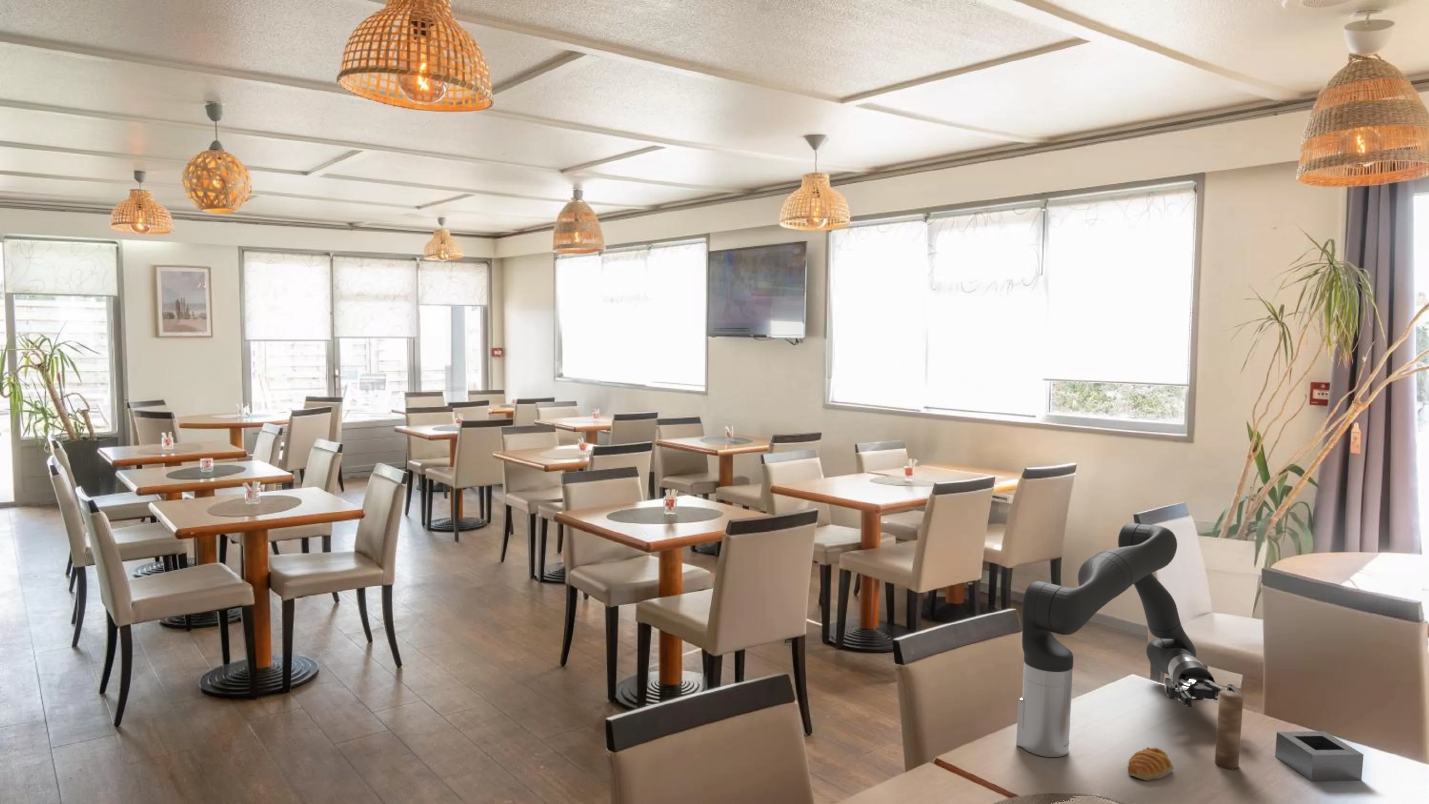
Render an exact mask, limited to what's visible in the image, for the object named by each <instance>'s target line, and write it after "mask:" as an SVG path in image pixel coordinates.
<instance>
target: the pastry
mask: <svg viewBox="0 0 1429 804" xmlns="http://www.w3.org/2000/svg"><path fill="white" fill-rule="evenodd" d="M1173 770H1174V765H1173V764H1172V761H1171V759H1170V758H1169V755H1168V753H1166V752H1165V751H1164V750H1162V749H1160V748H1158V747H1148V746H1147V747H1146V748H1143V749H1142V750H1139V751H1136V752H1135V753H1134V754H1133V755H1132V756H1131V757H1130V759H1129V761H1128V766H1127V772H1128V773H1127V774H1128V775H1129V776H1130V777H1132V776H1133V777H1135V778H1137V779H1139V780H1144V781H1147V782H1148V781H1152V780H1160V779H1162V778H1164V777H1166V776H1168V775H1170V773H1171V772H1172V771H1173Z"/></svg>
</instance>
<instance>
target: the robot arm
mask: <svg viewBox="0 0 1429 804" xmlns="http://www.w3.org/2000/svg"><path fill="white" fill-rule="evenodd" d="M1117 539H1118V540H1117V546H1118V547H1114V548H1110V549H1109V548H1108V549H1104V550H1102V551H1099V552H1098V553H1096V554H1094V555H1093V556H1091V557H1090V558H1088V559H1087V560H1086V561H1085V560H1084V562H1083V563H1082V564H1081V566H1080V568H1079V570H1078V574H1077V581H1078V586H1077V587H1067V586H1063V585H1059V584H1054V583H1050V582H1045V581H1041V580H1040V581H1039V580H1036V581H1033V582H1031V583H1030V584H1029V585H1028V587H1026V589H1025V592H1024V594H1023V598H1022V603H1021V604H1022V605H1021V626H1022V627H1021V631H1022V632H1021V635H1022V636H1021V646H1022V652H1023V671H1022V696H1021V697H1020V698H1019V699H1018V701H1017V703H1018V704H1017V705H1018V707H1017V719H1016V720H1017V723H1016V724H1017V725H1016V741H1015V742H1016V744H1015V745H1016V746H1018V747H1019V748H1020V747H1021V748H1022V749H1023V750H1025V751H1027V752H1029V753H1031V754H1033V755H1036V756H1040V757H1047V758H1059V757H1063V756H1066V755H1067V754H1068V753H1069V746H1070V731H1071V729H1070V728H1071V711H1072V695H1073V694H1072V691H1073V674H1074V673H1073V672H1074V654H1073V652H1072V651H1071V650H1070V649H1069V647H1067V646H1066V645H1064V644H1062V642H1060V641H1059V640H1058V639H1057V638H1056V636H1055V635H1053V634H1054V633H1055V634H1056V635H1063V636H1069V635H1074V634H1075V633H1076V632H1078V631H1079V630H1080V629H1082V628H1083V627H1084V626H1085V625H1086V624H1087V623H1088V622H1089V621H1090V620H1091V618H1092V617H1093V616H1094V615H1095V614H1096V613H1097V612H1099V611H1100V610H1101V609H1102V608H1103V607H1105V606H1106V605H1107V604H1108V603H1109V602H1111V601H1113V600H1114V599H1115V598H1117V597H1118V596H1120V595H1121V594H1123V593H1124V592H1125V591H1127V590H1129V588H1130V587H1131V586H1133V585H1134V588H1135V590H1136V592H1137V593H1138V596H1139V598H1140V601H1141V605H1142V607H1143V611H1144V614H1145V615H1144V616H1145V618H1146V622H1147V626H1148V630H1149V632H1150V633H1151V634H1152V636H1153V637H1156V639H1153V640H1151V641H1149V643H1147V645H1146V649H1145V652H1146V656H1147V659H1148V661H1149V662H1150V664H1151V665H1152V666H1153V667H1154V669H1156V670H1157V671H1159V672H1162V673H1164V674H1166V675H1169V677H1170V678H1169V677H1165V678H1164V685H1163V690H1164V692H1165V695H1166V696H1167V698H1168V699H1170V700H1175V698H1176V699H1177V700H1178V701H1179V702H1180V703H1181V704H1183V705H1185V706H1186V707H1187V708H1192V706H1193V705H1192V704H1193V701H1204V700H1205V701H1211V702H1212V703H1213V702H1214V703H1215V704H1218V705H1219V693H1220V691H1224V690H1226V691H1233V692H1237V693H1239V694H1241V695H1243V696H1244V693H1243V692H1242V691H1240V690H1239V688H1238V687H1236V685H1234V684H1232V683H1227V687H1225V686H1221V685H1220V684H1219V683H1216V681H1215V678H1214V677H1213V675H1212V674H1211V672H1210V671H1209V670H1208V669H1207V668H1206V666H1204V664H1203V663H1202V662H1201V661H1200V660H1198V659H1197V650H1196V647H1195V645H1194V643H1193V642H1192V640H1191V639H1190V638H1189V635H1187V633H1186V632H1185V630H1184V627H1183V626H1182V623H1181V619H1180V615H1179V611H1178V607H1177V604H1176V601H1175V600H1174V598H1173V596H1172V595H1171V593H1170V591H1168V590H1167V589H1166V587H1165V586H1164V585H1163V584H1162V583H1161V581H1159V579H1157V577H1156V576H1155V575H1154V574H1153V573H1155V572H1157V571H1159V570H1162V569H1164V568H1166V567H1167V566H1168V565H1169V564H1170V563H1172V561H1173V560H1174V557H1175V556H1176V553H1177V549H1178V542H1177V541H1178V539H1177V537H1176V535H1175V533H1174V532H1173V531H1172V530H1170V529H1169V528H1166V527H1164V526H1160V525H1153V524H1145V523H1135V522H1133V523H1131V522H1130V523H1126V524H1125V525H1123V526H1122V527H1121V529H1120V531H1119V534H1118V538H1117Z"/></svg>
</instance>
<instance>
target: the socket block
mask: <svg viewBox="0 0 1429 804" xmlns="http://www.w3.org/2000/svg"><path fill="white" fill-rule="evenodd" d="M1275 737H1276V740H1275V741H1276V742H1275V752H1274V753H1275V754H1274V757H1276V758H1277V759H1279V760H1280V761H1281V762H1283V763H1284V764H1286V765H1287V766H1289V767H1290V768H1292V769H1293V770H1294V771H1296V772H1297V773H1299V774H1301V775H1302V776H1304V777H1305V778H1306V777H1307V778H1306V779H1308V780H1309V781H1311V782H1315V781H1317V782H1318V781H1322V782H1323V781H1324V782H1326V781H1329V782H1330V781H1331V782H1333V781H1362V778H1363V777H1362V776H1363V767H1364V766H1363V765H1364V753H1362V752H1361V751H1358V750H1357V749H1355V748H1353V747H1352V746H1350V745H1349V744H1347V743H1345V742H1343V741H1342V740H1341V739H1338V738H1336V737H1335V736H1334V735H1332V734H1330V733H1329V732H1327V731H1324V730H1323V731H1322V730H1321V731H1319V730H1318V731H1317V730H1316V731H1311V730H1310V731H1277V732H1276V736H1275Z"/></svg>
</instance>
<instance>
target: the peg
mask: <svg viewBox="0 0 1429 804" xmlns="http://www.w3.org/2000/svg"><path fill="white" fill-rule="evenodd" d="M1243 705H1244V694H1243V695H1241V694H1239V693H1237V692H1233V691H1226V690H1224V691H1220V693H1219V704H1218V709H1217V710H1218V711H1217V724H1216V740H1215V742H1216V743H1215V757H1214V764H1215V765H1217V767H1220V768H1223V769H1227V770H1238V769H1239V767H1240V766H1239V764H1240V749H1241V735H1242V721H1243V708H1244V707H1243Z"/></svg>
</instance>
